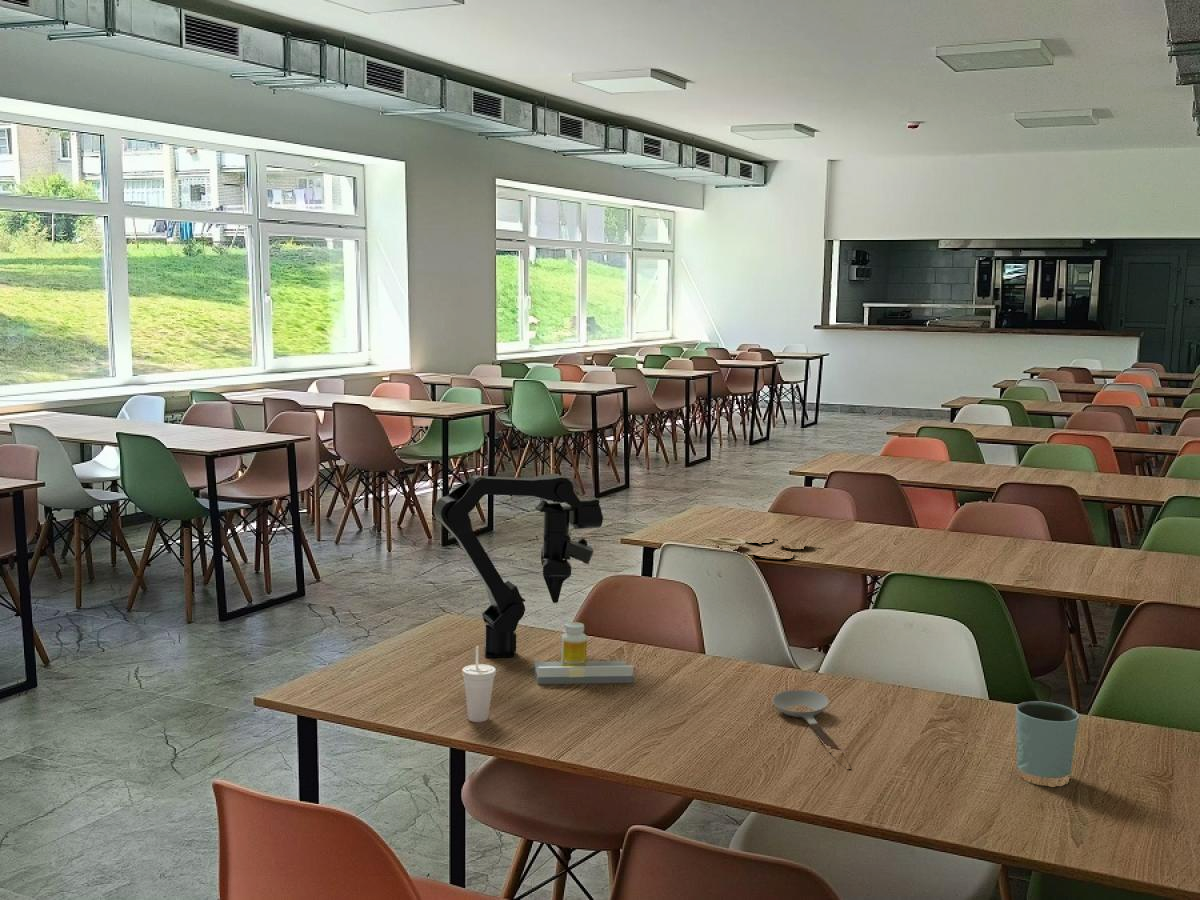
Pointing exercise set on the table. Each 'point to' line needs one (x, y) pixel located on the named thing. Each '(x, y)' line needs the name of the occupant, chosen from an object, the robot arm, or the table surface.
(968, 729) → the table surface
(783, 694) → the grey frying pan
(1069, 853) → the table surface
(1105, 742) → the table surface
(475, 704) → the smoothie
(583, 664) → the supplement bottle
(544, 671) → the grey panel
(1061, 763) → the grey-green cup
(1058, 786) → the table surface
